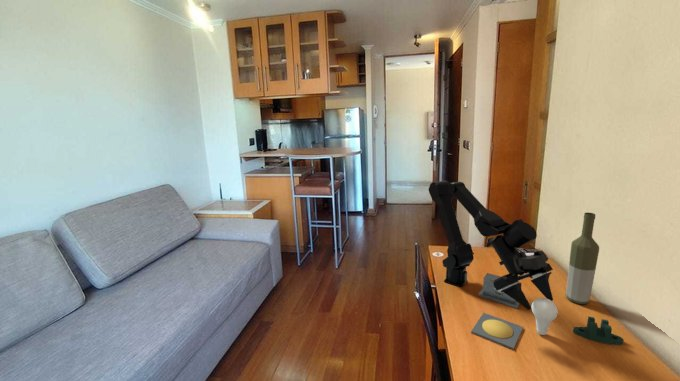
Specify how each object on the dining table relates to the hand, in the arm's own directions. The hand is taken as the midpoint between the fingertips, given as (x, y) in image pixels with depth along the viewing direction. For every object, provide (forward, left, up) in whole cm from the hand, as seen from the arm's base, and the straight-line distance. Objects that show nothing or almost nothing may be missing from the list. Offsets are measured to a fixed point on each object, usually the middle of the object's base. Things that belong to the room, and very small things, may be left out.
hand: (540, 305), depth 87 cm
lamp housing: (-13, +12, -9) cm, 19 cm away
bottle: (+7, +26, -9) cm, 28 cm away
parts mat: (-9, -6, -9) cm, 14 cm away
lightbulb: (+1, 0, -9) cm, 9 cm away
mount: (+13, +8, -9) cm, 18 cm away
